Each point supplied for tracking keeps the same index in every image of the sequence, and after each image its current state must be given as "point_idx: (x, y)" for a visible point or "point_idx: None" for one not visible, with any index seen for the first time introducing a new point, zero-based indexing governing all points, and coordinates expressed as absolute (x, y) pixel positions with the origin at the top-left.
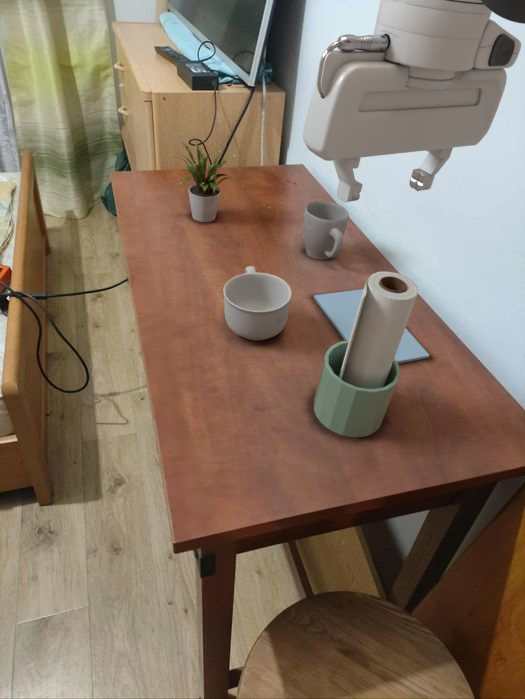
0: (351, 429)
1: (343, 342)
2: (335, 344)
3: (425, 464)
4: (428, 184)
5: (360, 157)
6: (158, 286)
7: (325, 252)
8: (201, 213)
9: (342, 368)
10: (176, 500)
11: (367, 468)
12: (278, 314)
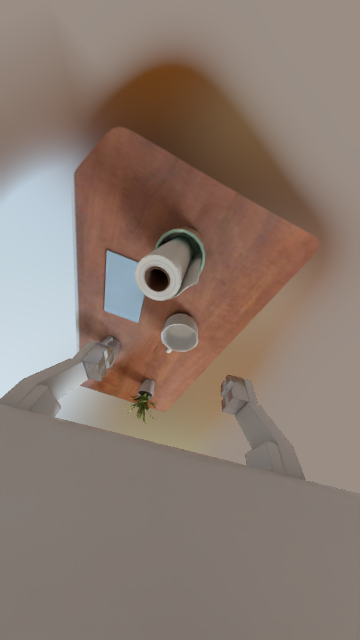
0: (200, 235)
1: None
2: None
3: (177, 180)
4: (92, 348)
5: (293, 477)
6: (199, 362)
7: (112, 340)
8: (151, 384)
9: (190, 265)
10: (304, 262)
11: (211, 206)
12: (179, 321)
